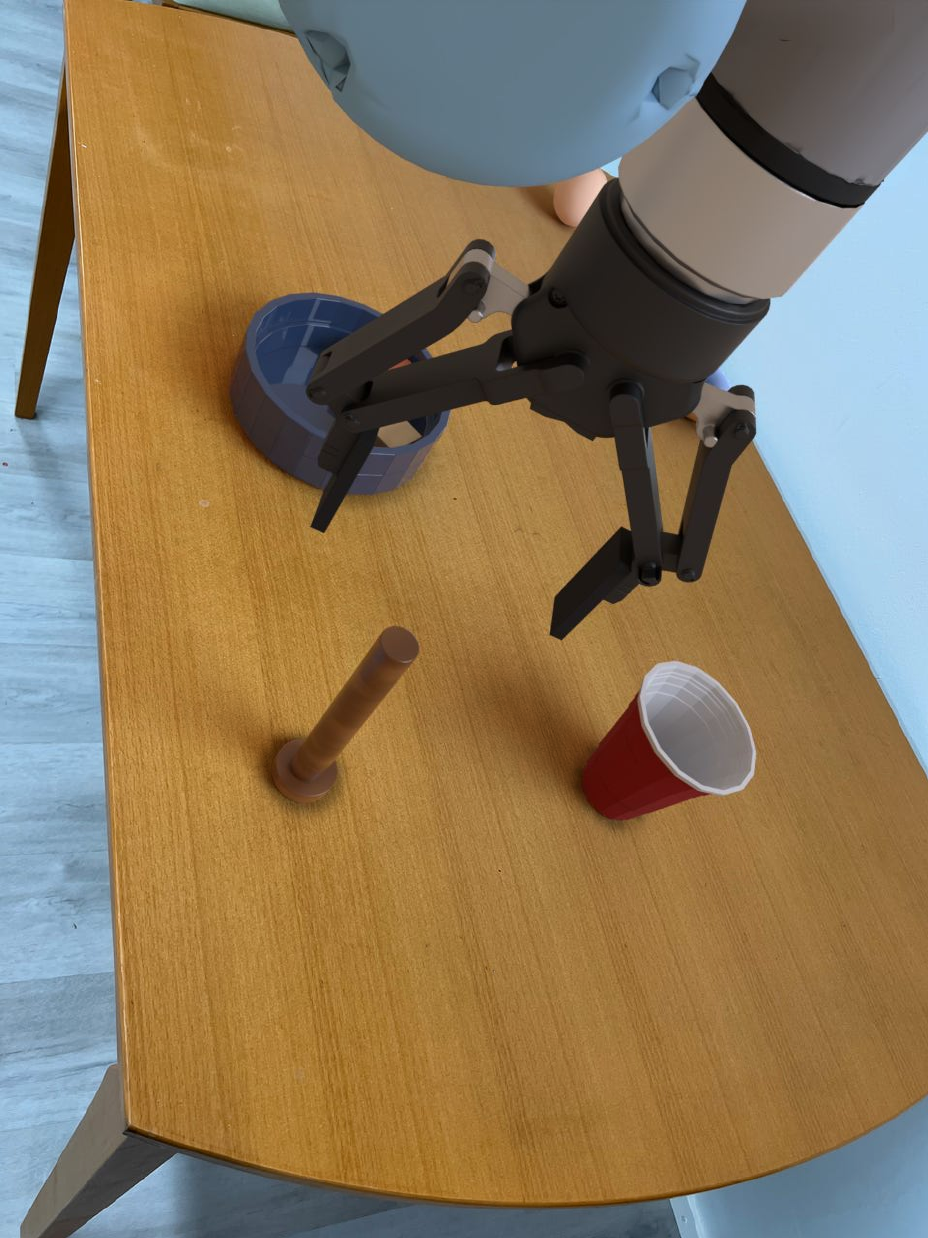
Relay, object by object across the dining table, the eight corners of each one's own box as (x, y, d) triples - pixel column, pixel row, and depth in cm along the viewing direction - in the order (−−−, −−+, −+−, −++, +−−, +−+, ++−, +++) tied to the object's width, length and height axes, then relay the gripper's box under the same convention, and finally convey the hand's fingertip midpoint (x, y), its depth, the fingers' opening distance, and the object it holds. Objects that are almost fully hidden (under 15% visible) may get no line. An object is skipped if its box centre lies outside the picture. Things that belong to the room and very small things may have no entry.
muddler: (260, 758, 67) (349, 622, 54) (312, 736, 70) (410, 602, 57) (290, 813, 66) (389, 688, 53) (343, 788, 69) (449, 664, 56)
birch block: (345, 449, 86) (361, 418, 83) (375, 434, 89) (391, 404, 86) (376, 481, 86) (393, 451, 83) (405, 465, 88) (422, 436, 85)
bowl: (198, 438, 80) (215, 387, 76) (263, 312, 92) (281, 261, 87) (402, 531, 85) (430, 488, 80) (439, 399, 96) (465, 355, 92)
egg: (535, 200, 126) (566, 146, 121) (574, 206, 130) (605, 155, 124) (556, 236, 124) (589, 183, 118) (595, 241, 128) (628, 190, 122)
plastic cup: (685, 848, 80) (784, 790, 71) (577, 856, 74) (668, 795, 66) (645, 727, 85) (732, 660, 76) (541, 728, 80) (621, 655, 71)
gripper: (945, 336, 40) (649, 607, 56) (403, 4, 34) (239, 413, 50) (977, 455, 36) (643, 715, 51) (354, 94, 29) (190, 515, 45)
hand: (444, 567), depth 50 cm, fingers open, 13 cm apart
